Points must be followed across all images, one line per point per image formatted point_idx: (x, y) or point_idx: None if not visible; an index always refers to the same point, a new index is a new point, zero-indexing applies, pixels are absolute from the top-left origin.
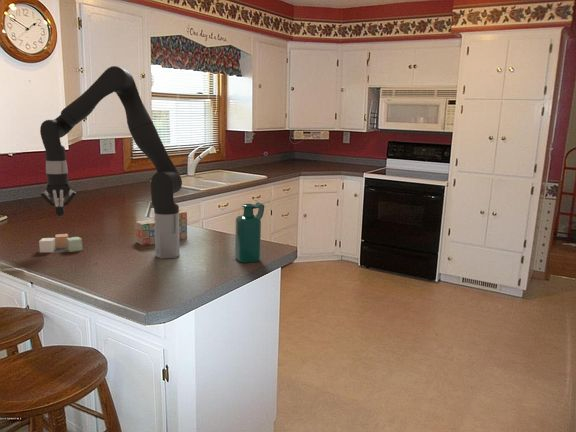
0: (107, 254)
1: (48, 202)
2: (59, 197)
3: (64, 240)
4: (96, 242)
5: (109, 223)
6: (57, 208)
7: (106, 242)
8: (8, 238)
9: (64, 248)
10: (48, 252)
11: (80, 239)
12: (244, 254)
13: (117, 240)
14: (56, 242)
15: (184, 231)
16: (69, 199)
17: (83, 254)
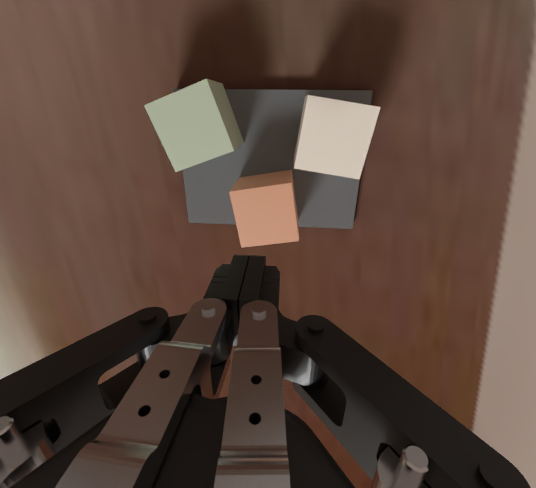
0: (44, 28)
1: (355, 345)
2: (199, 400)
3: (252, 183)
4: (150, 254)
5: None
6: (259, 292)
7: (111, 245)
8: (468, 373)
9: (256, 158)
10: (324, 96)
11: (150, 103)
12: None
13: (77, 264)
14: (290, 175)
15: None
16: (78, 355)
17: (160, 58)
